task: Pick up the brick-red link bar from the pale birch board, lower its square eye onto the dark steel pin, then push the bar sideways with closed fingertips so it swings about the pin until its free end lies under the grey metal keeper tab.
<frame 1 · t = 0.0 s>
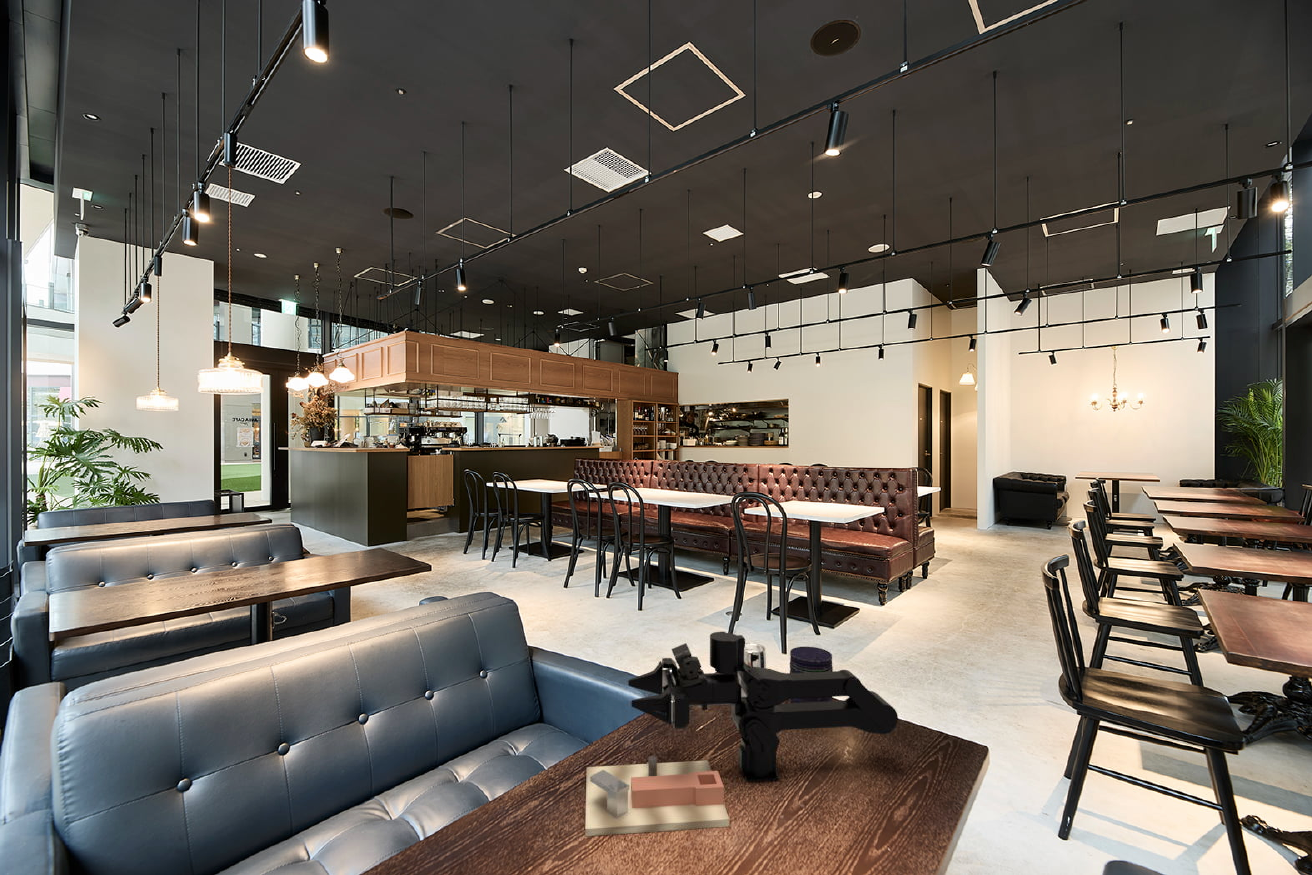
hand: (629, 692, 109), 17 cm above the table, tool horizontal, fingers open, 9 cm apart
beer glass: (751, 710, 137), on the table
storage jar: (811, 717, 134), on the table
link: (631, 800, 100), point 1 cm above the table, touching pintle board
keeper: (617, 811, 97), resting on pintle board
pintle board: (652, 797, 103), on the table
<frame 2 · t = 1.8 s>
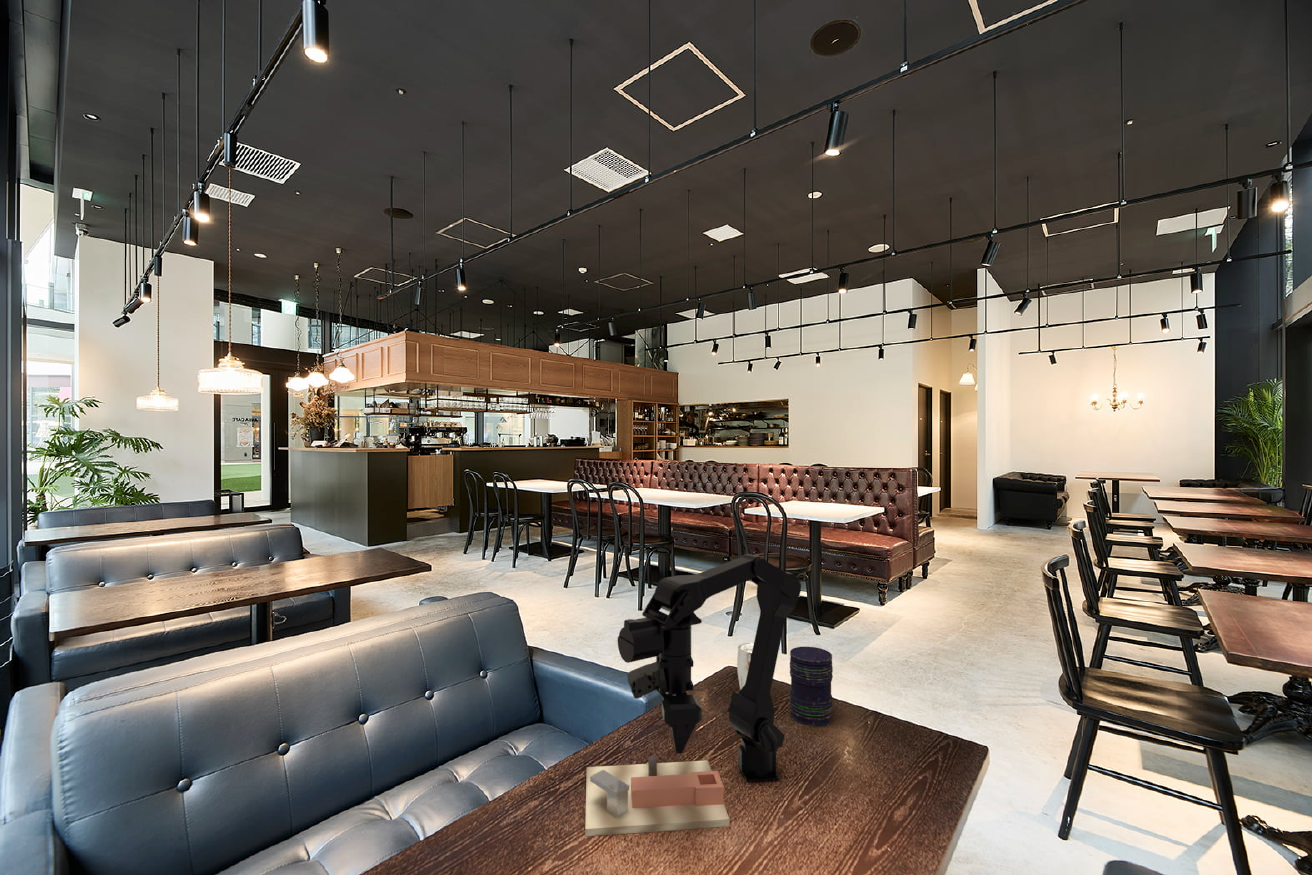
hand: (675, 738, 101), 12 cm above the table, tool pointing down, fingers open, 9 cm apart
nothing on the table moved.
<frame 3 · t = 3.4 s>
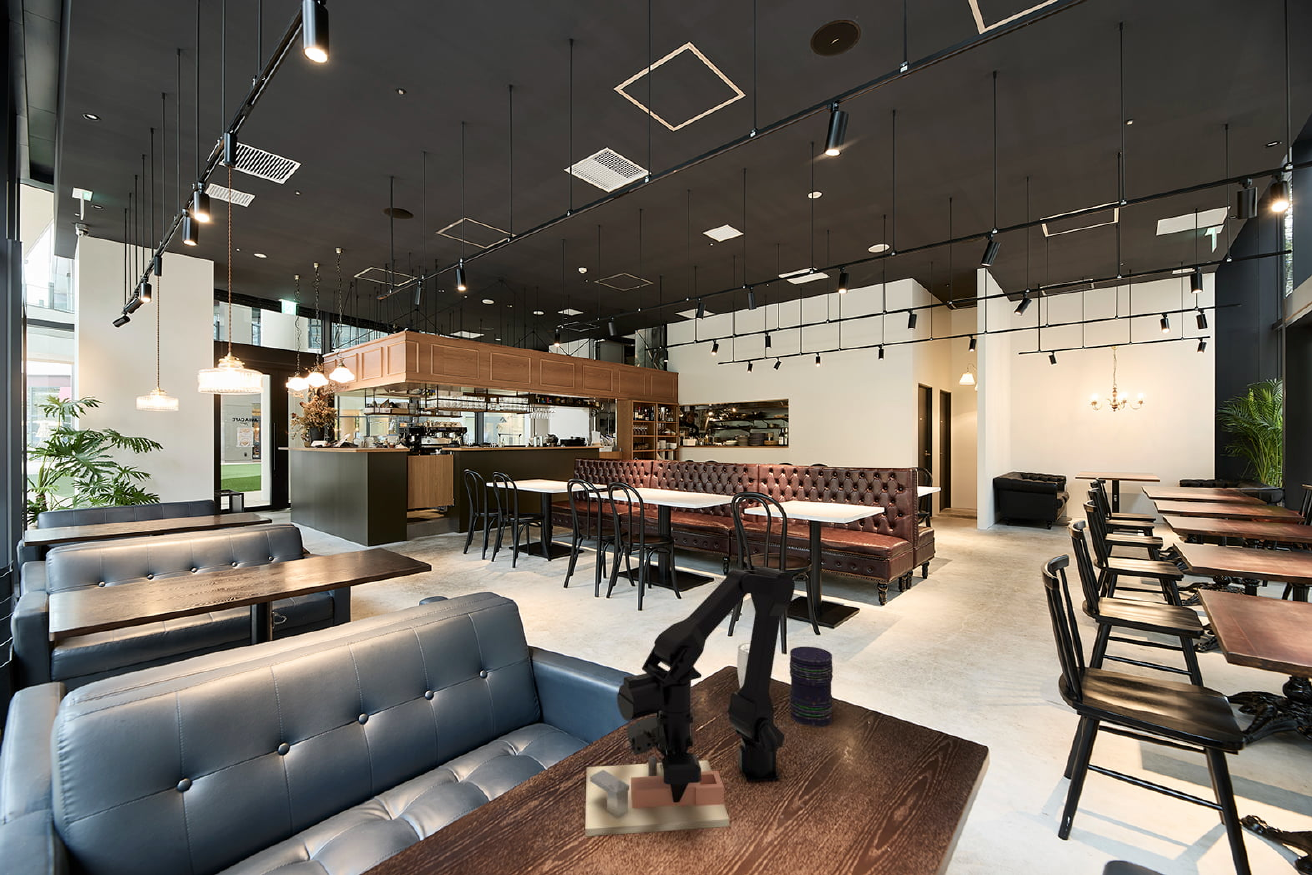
hand: (674, 794, 101), 2 cm above the table, tool pointing down, fingers closed on link, 4 cm apart
link: (631, 800, 100), point 1 cm above the table, touching gripper, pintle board
everything else where it was.
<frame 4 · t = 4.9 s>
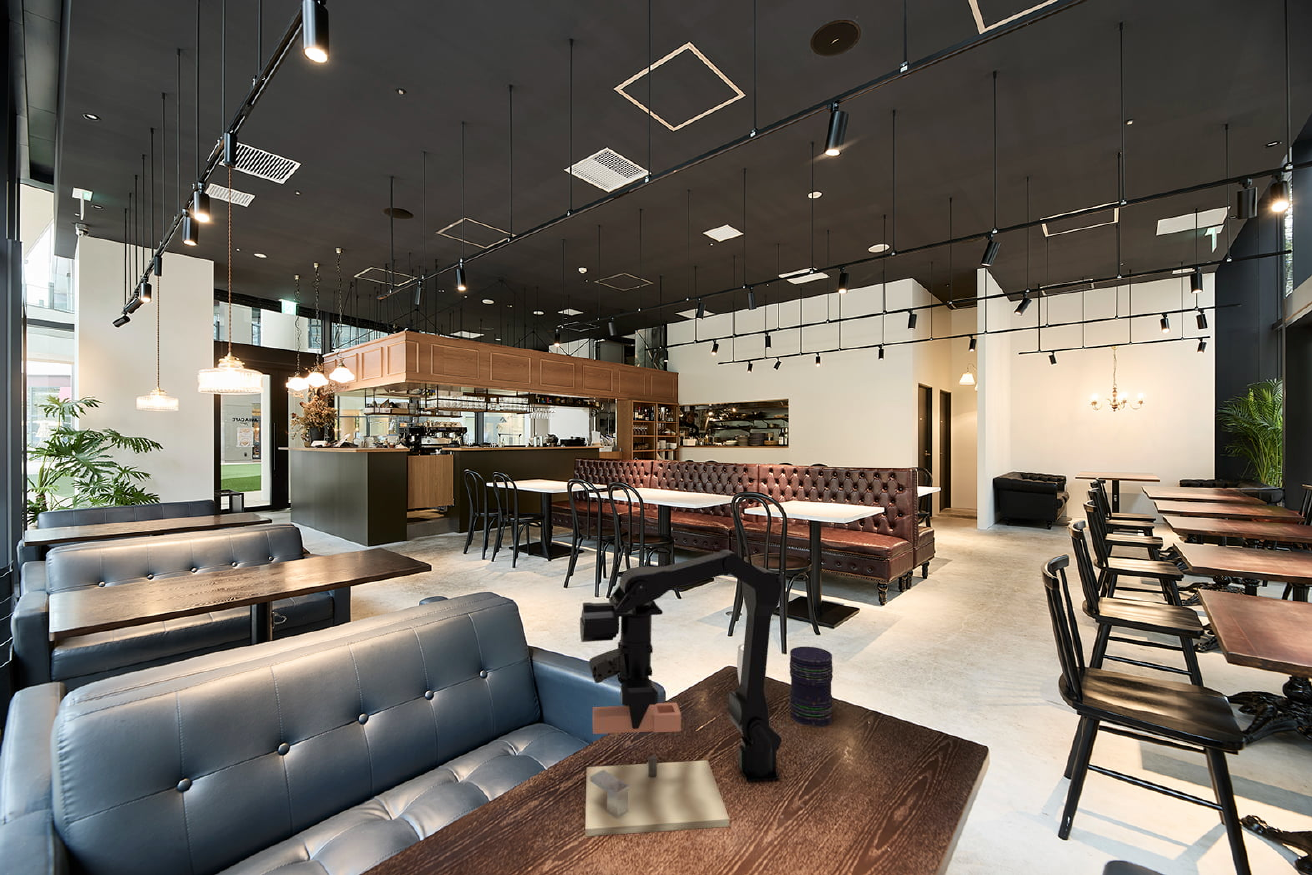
hand: (634, 722, 105), 12 cm above the table, tool pointing down, fingers closed on link, 4 cm apart
link: (592, 728, 104), point 12 cm above the table, touching gripper
everything else where it was.
when the fingers open (3 cm above the table, at t = 6.8 s): link stays where it is, resting on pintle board.
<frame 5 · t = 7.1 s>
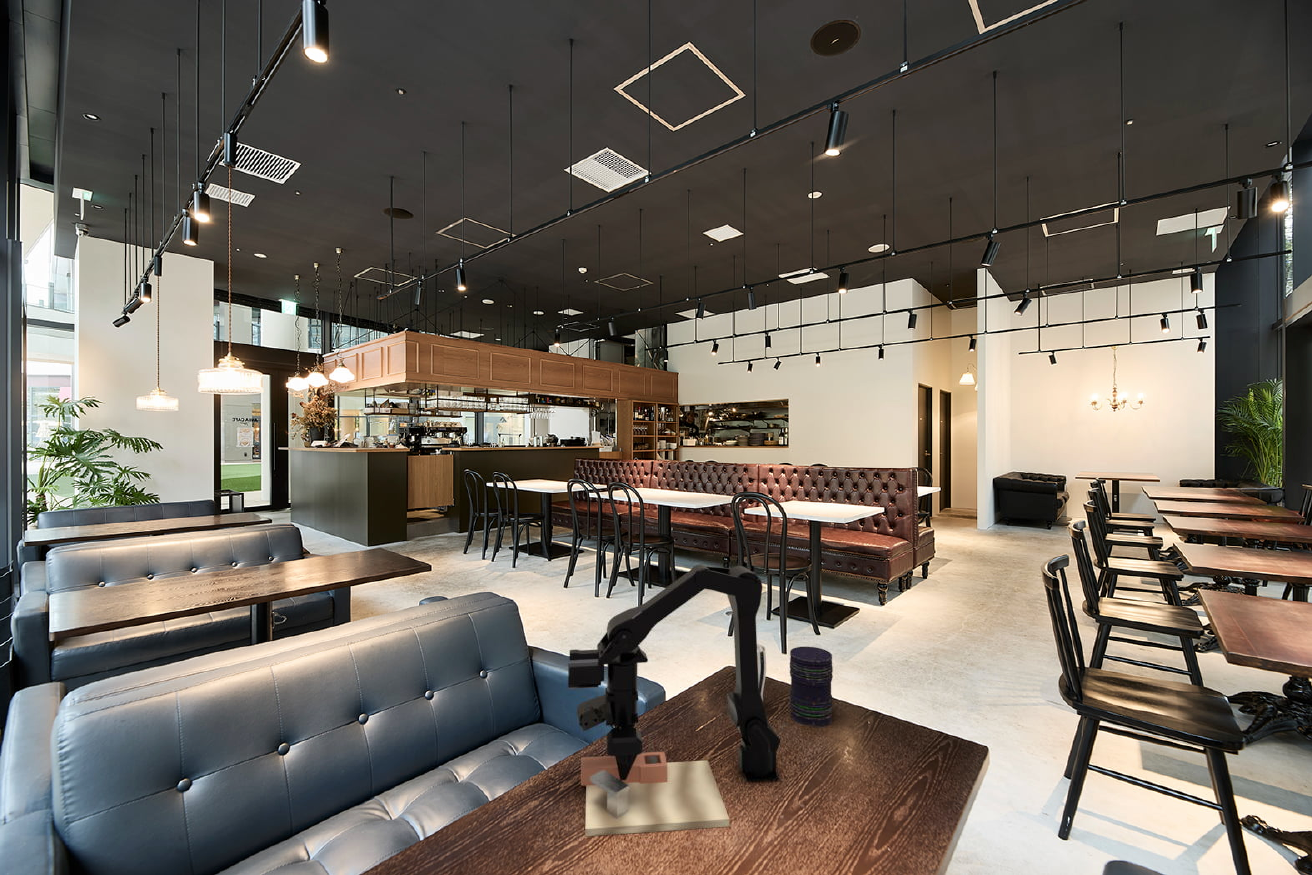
hand: (622, 767, 107), 3 cm above the table, tool pointing down, fingers open, 7 cm apart
link: (581, 779, 106), point 1 cm above the table, touching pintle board
everything else where it was.
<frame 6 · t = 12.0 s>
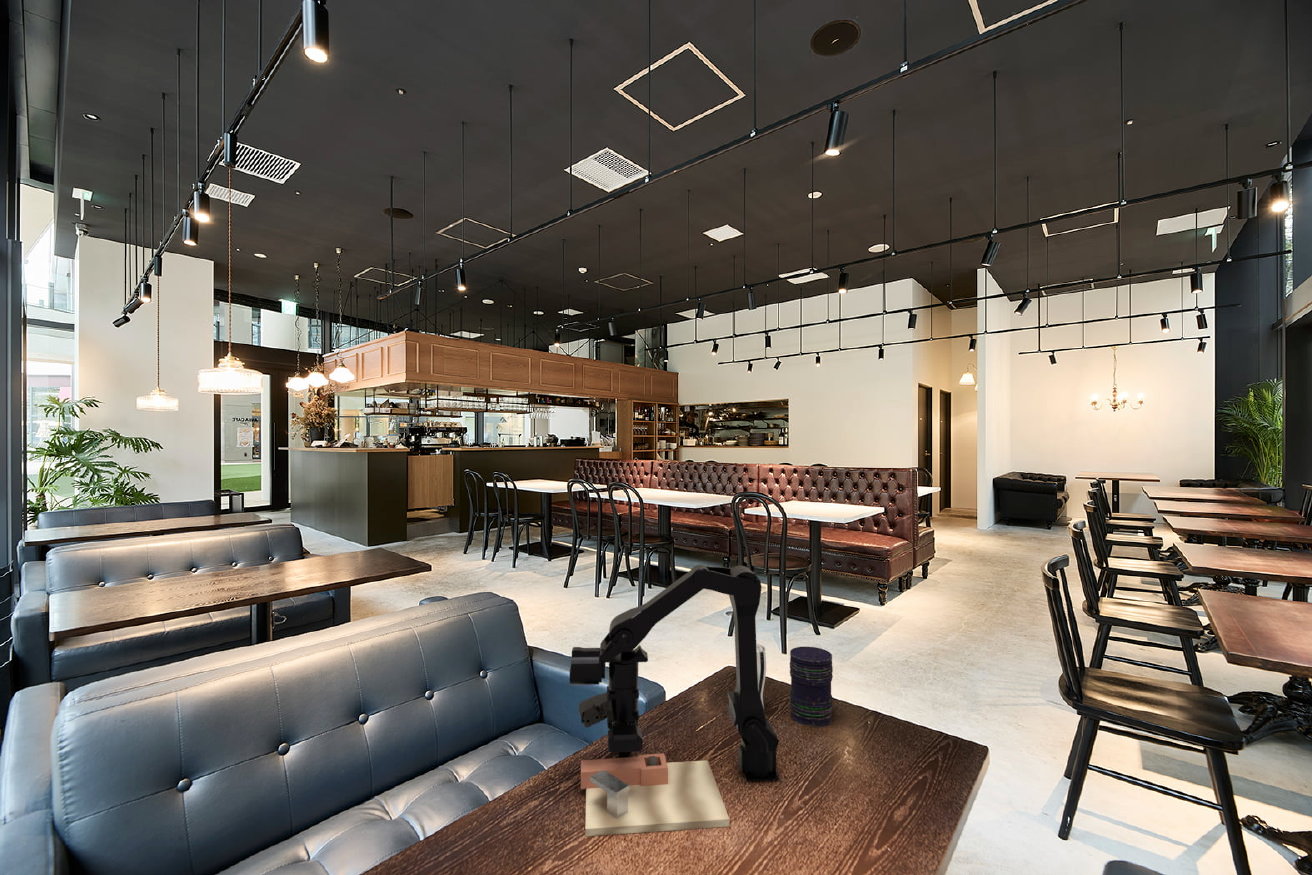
hand: (622, 763, 110), 2 cm above the table, tool pointing down, fingers closed
link: (580, 782, 105), point 1 cm above the table, touching gripper, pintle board
everything else where it was.
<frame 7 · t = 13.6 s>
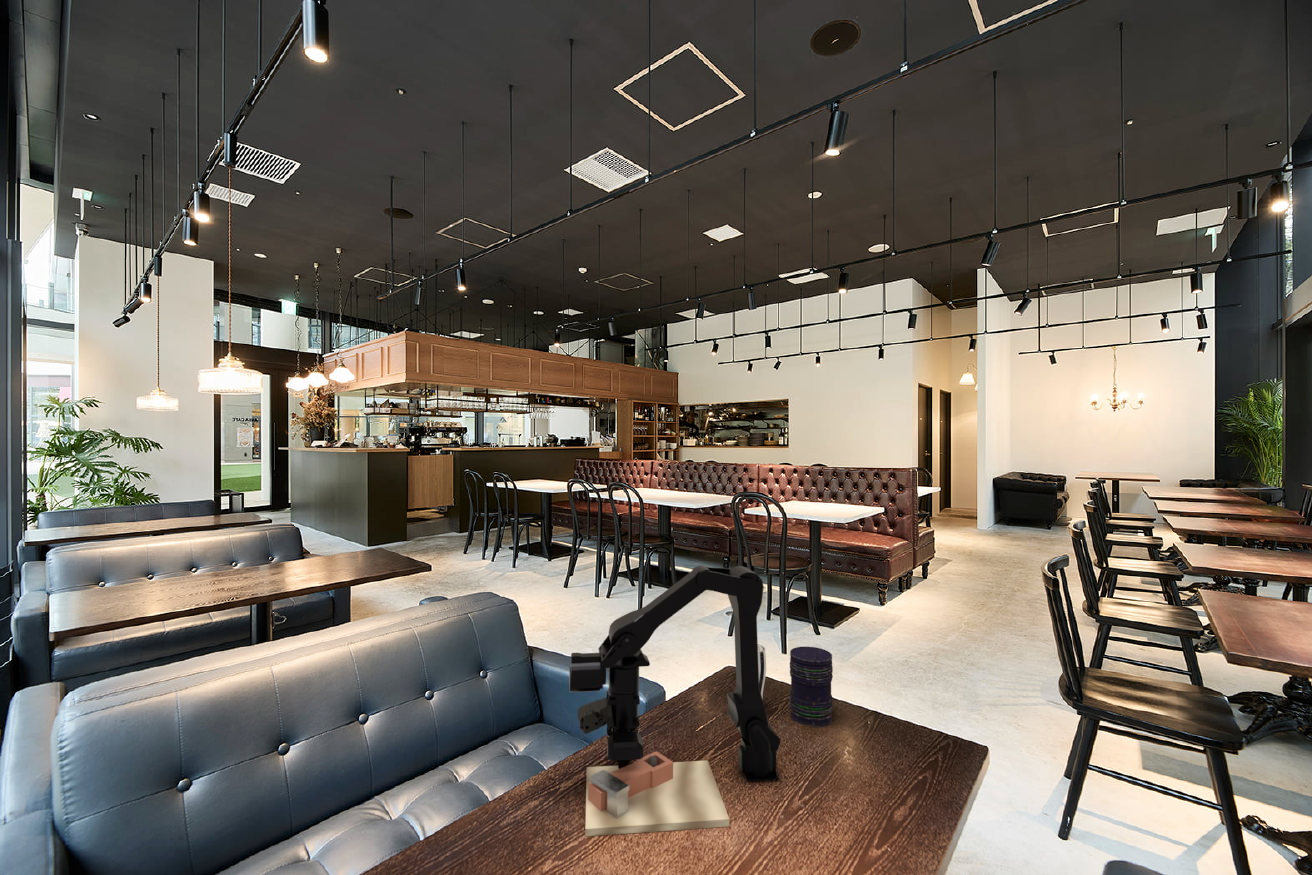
hand: (622, 771, 107), 2 cm above the table, tool pointing down, fingers closed
link: (594, 805, 99), point 1 cm above the table, touching gripper, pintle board
everything else where it was.
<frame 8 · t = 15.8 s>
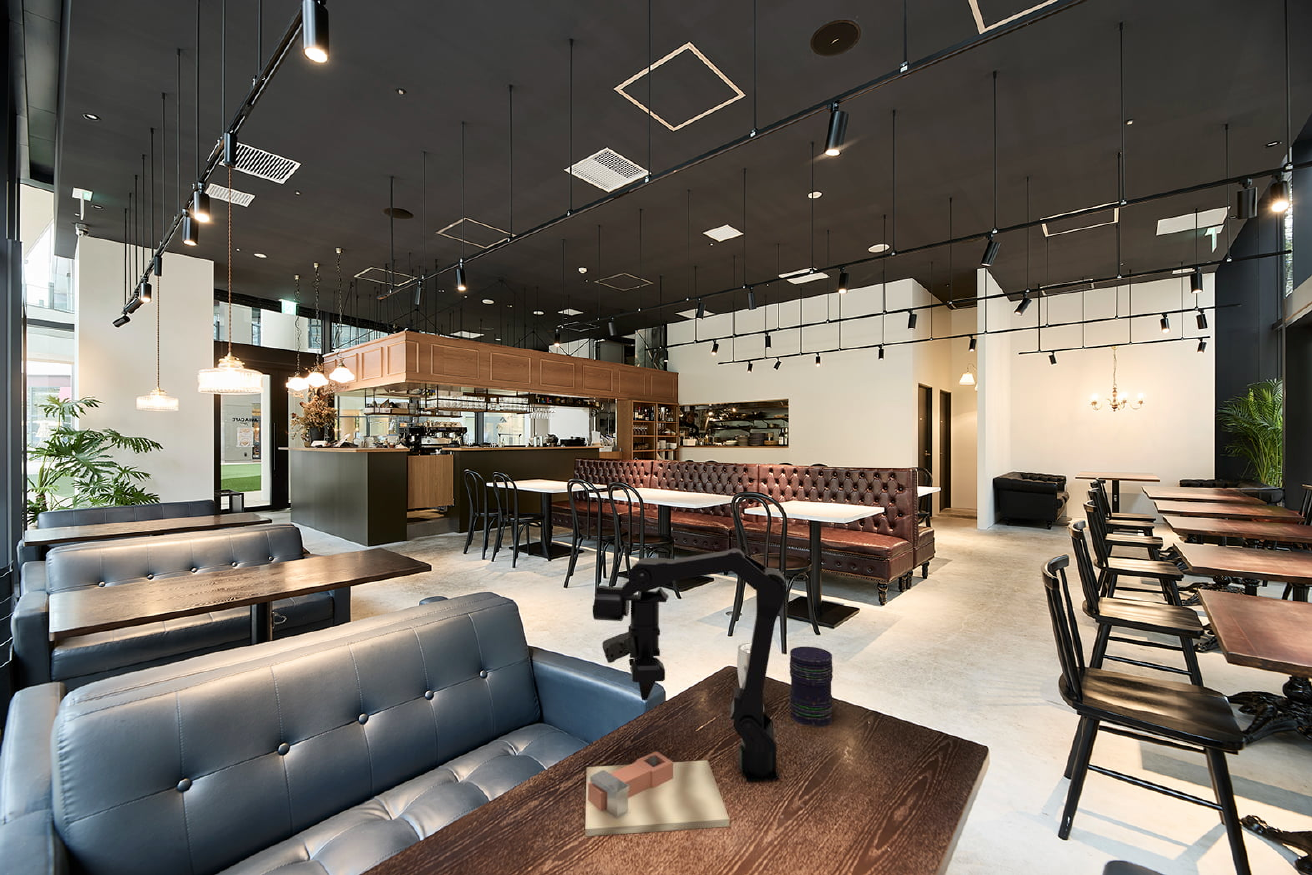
hand: (644, 699, 115), 12 cm above the table, tool pointing down, fingers closed
link: (594, 805, 99), point 1 cm above the table, touching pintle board
everything else where it was.
at the end: link 0.7 cm from the target spot, point 1.2 cm above the table; link tilted 0°; the gripper is holding nothing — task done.
